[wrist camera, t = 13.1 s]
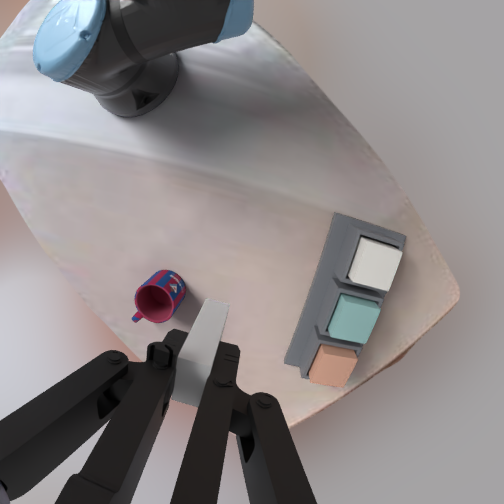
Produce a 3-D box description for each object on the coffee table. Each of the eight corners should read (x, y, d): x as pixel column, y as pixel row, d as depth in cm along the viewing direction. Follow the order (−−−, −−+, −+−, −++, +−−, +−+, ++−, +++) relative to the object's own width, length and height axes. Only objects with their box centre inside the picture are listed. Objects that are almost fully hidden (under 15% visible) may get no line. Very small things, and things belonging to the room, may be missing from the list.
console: (334, 212, 45) (343, 217, 39) (403, 234, 45) (419, 242, 39) (284, 359, 52) (285, 379, 46) (346, 371, 52) (353, 390, 46)
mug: (193, 294, 50) (183, 311, 43) (152, 319, 52) (138, 337, 45) (170, 262, 49) (156, 275, 42) (130, 290, 50) (113, 305, 44)
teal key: (337, 288, 45) (345, 301, 40) (370, 296, 45) (381, 309, 40) (325, 321, 46) (330, 337, 41) (357, 328, 46) (365, 343, 41)
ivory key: (356, 233, 43) (366, 240, 38) (389, 244, 43) (402, 252, 38) (343, 270, 44) (352, 281, 39) (377, 279, 44) (388, 291, 39)
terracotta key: (318, 336, 47) (323, 353, 42) (350, 342, 47) (358, 359, 42) (307, 364, 49) (310, 382, 44) (337, 369, 49) (343, 387, 44)
